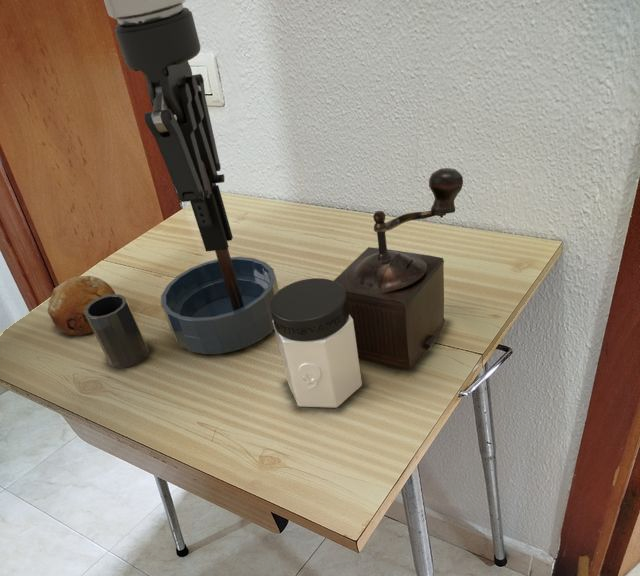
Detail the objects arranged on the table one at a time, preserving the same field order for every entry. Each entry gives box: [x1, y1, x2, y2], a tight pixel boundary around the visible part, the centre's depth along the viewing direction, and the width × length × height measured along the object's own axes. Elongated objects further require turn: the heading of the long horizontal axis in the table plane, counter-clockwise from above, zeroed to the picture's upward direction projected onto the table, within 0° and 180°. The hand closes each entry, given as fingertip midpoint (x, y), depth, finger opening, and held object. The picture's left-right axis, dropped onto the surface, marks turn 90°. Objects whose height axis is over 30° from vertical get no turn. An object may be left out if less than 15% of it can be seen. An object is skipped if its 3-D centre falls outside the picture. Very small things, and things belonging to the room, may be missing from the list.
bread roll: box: [47, 275, 116, 336], centre depth 88 cm, size 10×10×8 cm
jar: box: [270, 277, 363, 409], centre depth 65 cm, size 9×8×12 cm
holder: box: [84, 293, 149, 369], centre depth 77 cm, size 5×6×8 cm
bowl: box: [160, 256, 280, 355], centre depth 80 cm, size 15×15×6 cm
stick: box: [201, 160, 244, 311], centre depth 71 cm, size 2×2×20 cm
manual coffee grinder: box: [333, 167, 464, 371], centre depth 69 cm, size 16×11×18 cm
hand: (219, 244), depth 72 cm, fingers closed on stick, 1 cm apart
